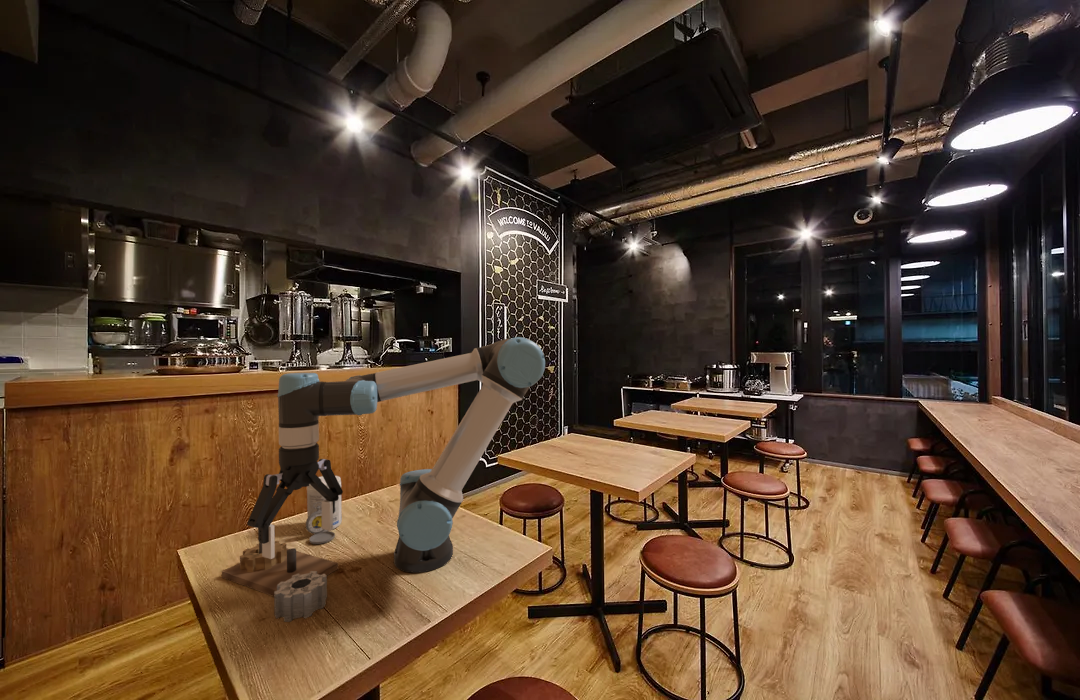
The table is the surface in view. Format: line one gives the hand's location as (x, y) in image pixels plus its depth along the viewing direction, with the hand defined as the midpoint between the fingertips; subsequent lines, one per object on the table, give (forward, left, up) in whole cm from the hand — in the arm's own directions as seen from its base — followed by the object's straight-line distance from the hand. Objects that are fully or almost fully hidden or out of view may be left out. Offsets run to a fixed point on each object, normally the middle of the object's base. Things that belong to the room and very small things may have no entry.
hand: (299, 542), depth 90 cm
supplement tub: (+30, -30, -14) cm, 45 cm away
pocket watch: (+24, -24, -14) cm, 37 cm away
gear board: (+17, -7, -14) cm, 23 cm away
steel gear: (0, 0, -14) cm, 14 cm away
